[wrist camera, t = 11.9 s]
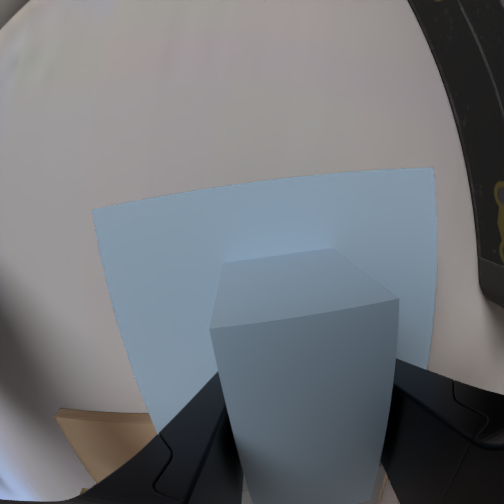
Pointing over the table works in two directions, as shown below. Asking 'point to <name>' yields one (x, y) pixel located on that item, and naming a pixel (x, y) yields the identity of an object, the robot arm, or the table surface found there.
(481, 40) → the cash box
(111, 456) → the latch base
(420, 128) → the table surface
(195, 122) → the table surface
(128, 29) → the table surface
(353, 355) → the lid
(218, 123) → the table surface
